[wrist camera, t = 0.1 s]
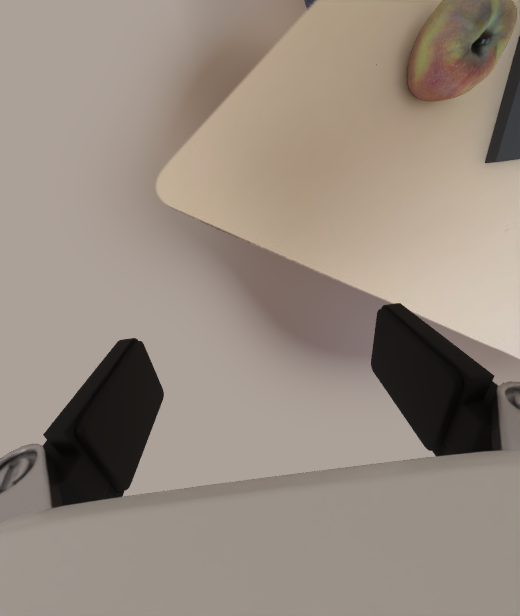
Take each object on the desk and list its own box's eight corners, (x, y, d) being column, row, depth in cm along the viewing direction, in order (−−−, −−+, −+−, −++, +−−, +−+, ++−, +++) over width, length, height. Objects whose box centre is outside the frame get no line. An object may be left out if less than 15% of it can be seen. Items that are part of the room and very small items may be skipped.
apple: (372, 43, 20) (418, -7, 15) (472, -2, 19) (558, -71, 14) (380, 127, 23) (421, 110, 17) (468, 91, 22) (538, 63, 17)
